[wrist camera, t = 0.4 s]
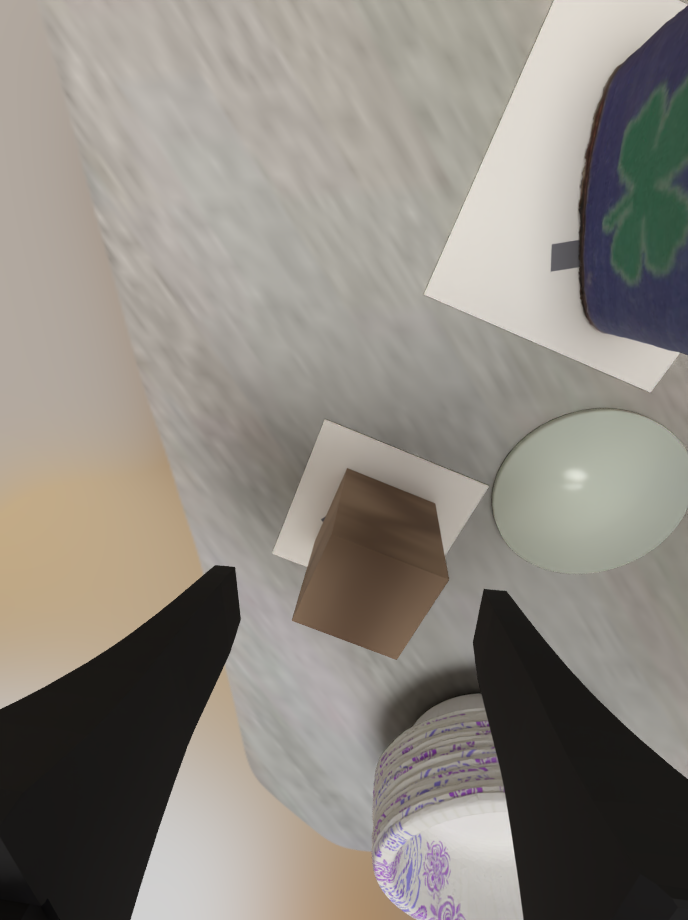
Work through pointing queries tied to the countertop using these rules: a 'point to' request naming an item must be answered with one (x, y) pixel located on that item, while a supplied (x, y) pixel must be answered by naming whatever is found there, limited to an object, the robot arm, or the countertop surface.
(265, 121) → the countertop surface
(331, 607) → the walnut block
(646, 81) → the flask
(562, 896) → the robot arm
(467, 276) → the code tile
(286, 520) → the code tile
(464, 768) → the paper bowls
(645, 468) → the plate
